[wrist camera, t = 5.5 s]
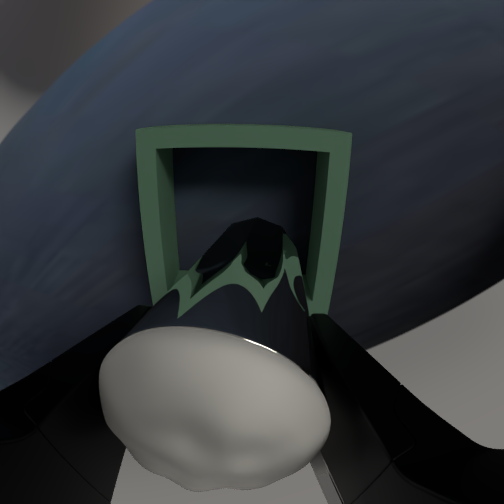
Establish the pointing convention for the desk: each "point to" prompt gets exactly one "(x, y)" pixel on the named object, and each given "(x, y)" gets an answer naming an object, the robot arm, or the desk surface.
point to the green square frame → (252, 136)
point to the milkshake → (224, 372)
